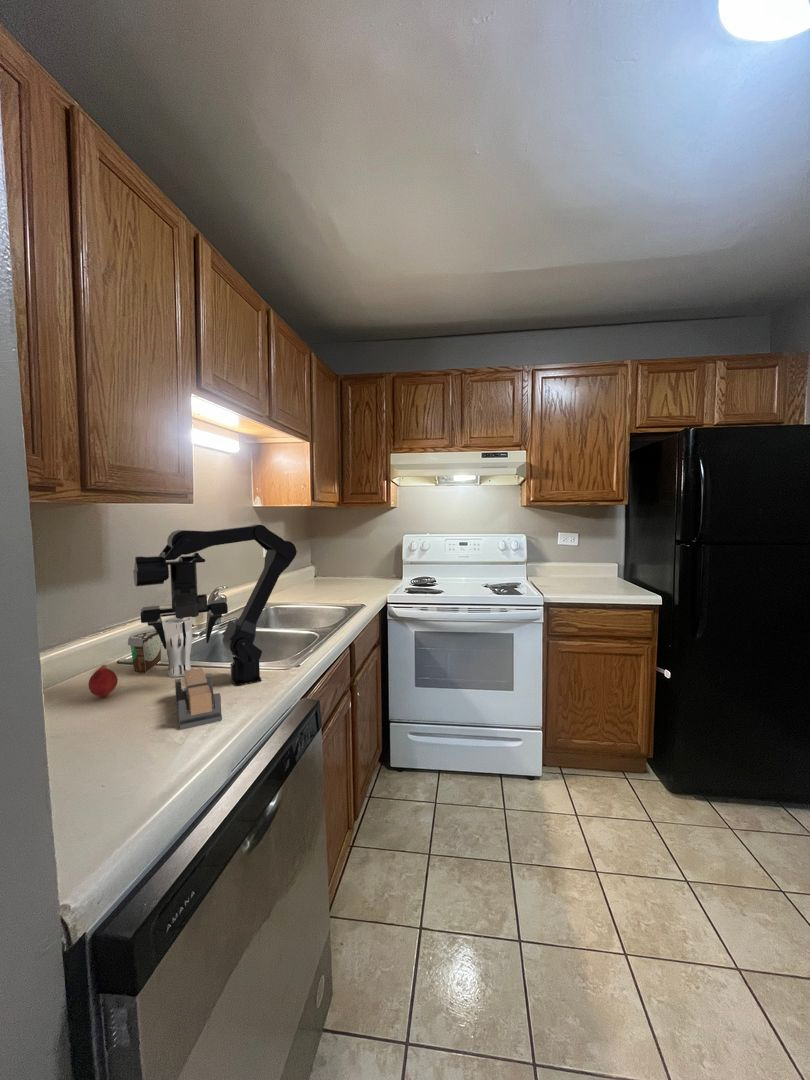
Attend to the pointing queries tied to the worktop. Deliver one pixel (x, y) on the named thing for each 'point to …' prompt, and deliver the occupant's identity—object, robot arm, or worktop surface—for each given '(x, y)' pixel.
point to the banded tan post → (197, 691)
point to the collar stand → (199, 719)
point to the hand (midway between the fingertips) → (186, 645)
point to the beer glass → (178, 645)
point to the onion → (102, 682)
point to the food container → (145, 650)
